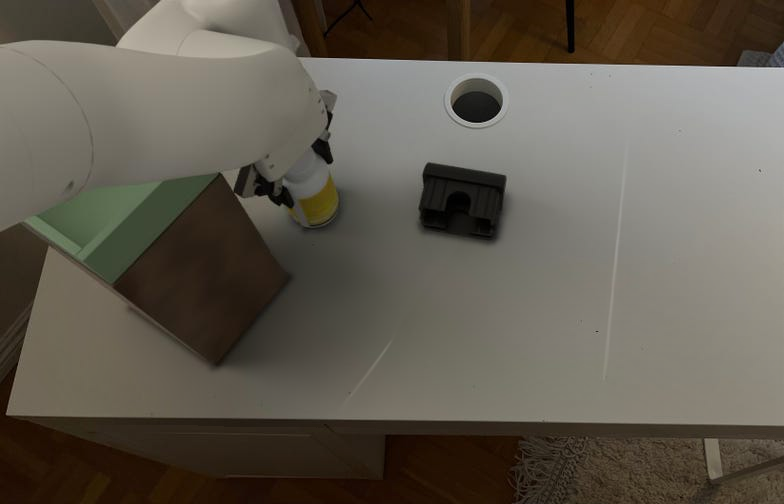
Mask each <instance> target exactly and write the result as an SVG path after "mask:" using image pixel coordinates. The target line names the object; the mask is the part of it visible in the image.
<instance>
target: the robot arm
mask: <svg viewBox="0 0 784 504" xmlns="http://www.w3.org/2000/svg"><path fill="white" fill-rule="evenodd" d="M301 45H302V44H301V41H300V40H299V38H298V37H297V36H295V35H294V34H289V31H288V27H287V25H286V22H285V19H284V16H283V12H282V10H281V7H280V3H279V1H278V0H159V2H157V3H156V4H155V5H154V6H153V7H152V8H150V10H149V11H148V12H146V13H145V14H144V15H143V16H141V18H140V19H138V20H137V21H136V22H135V23H134V24H133V25H132V26H131V27H130V28H129V29H128V30H127V31H126V32H125V33H124V34H123V35H122V36H121V38H120V39H119V41H118V42H117V44H116V46H114V45H113V46H112V45H107V44H98V43H90V42H89V43H88V42H79V41H64V40H51V39H47V40H46V39H45V40H44V39H32V40H31V39H30V40H22V41H17V42H10V43H9V42H8V43H1V44H0V232H3V231H5V230H7V229H9V228H11V227H13V226H15V225H19V224H20V222H22V221H24V220H26V219H29V218H31V217H33V216H35V215H37V214H39V213H42V212H44V211H46V210H48V209H50V208H52V207H55V206H57V205H59V204H61V203H64V202H66V201H69V200H71V199H73V198H75V197H77V196H79V195H81V194H83V193H86V192H88V191H91V190H93V189H96V188H101V187H112V186H125V185H136V184H145V183H152V182H159V181H165V180H171V179H177V178H184V177H191V176H199V175H205V174H212V173H218V172H220V173H223V172H228V171H233V170H238V169H239V171H238V174H237V177H236V181H235V184H234V187H233V189H232V190H233V192H234V193H235V195H236V196H238V197H240V198H241V199H249V198H253V197H254V196H255V197H256V196H257V197H258V198H260V197H264V196H267V197H268V199H269V201H271V202H272V203H273V204H275V205H276V206H278V207H281V206H282V205H284V207H286V206H287V207H288V208H290V209H292V208H293V207H294V204H295V203H294V201H293V199H292V197H291V195H290V193H289V191H288V189H287V188H286V187H285V186H283V185H282V181H283V175H284V174H285V173H286V172H287V171H288V170H289V169H290V168H291V167H292V166H293V165H294V164H295V162H296V161H297V160H298V159H299V158H300V157H301V156H302V155H303V154H304V153H305V152H306V150H307V149H308V148H309V147H310V146H311V147H312V149H313V151H314V152H315V153H317V154H319V155H320V156H321V157H322V158H323V159H324V160H325V162H326V163H327V166H328V165H332V164H333V162H334V161H335V160H334V157H333V154H332V151H331V146H330V142H329V140H330V139H331V136H332V133H331V132H330V131H329V128H330V126H331V123H332V120H333V117H334V114H333V112H332V111H334V109H335V106H336V103H337V99H338V95H337V94H336V93H334V92H333V91H331V90H329V89H320V90H319V89H318V87H317V85H316V83H315V81H314V80H313V78H312V77H311V75H310V74H309V72H308V71H307V70H306V69H305V67H304V66H303V65H304V64H303V63H302V62H301V60H300V59H299V58H298V56H297V51H298V49H299V47H300V46H301Z"/></svg>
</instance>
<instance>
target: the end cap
mask: <svg viewBox="0 0 784 504" xmlns="http://www.w3.org/2000/svg"><path fill="white" fill-rule="evenodd" d="M421 176H422V186H423V188H422V191H421V196H420V199H419V204H418V208H417V209H418V211H419V216H418V218H419V219H420V222H421V224H422V228H423V229H425V230H427V231H433V232H438V233H445V234H451V235H457V236H463V237H469V238H474V239H479V240H480V239H481V240H486V241H491V240H492V239H493V237H494V233H495V232H496V230H497V225H498V218H499V213H500V212H502V211H503V206H504V201H505V200H504V199H505V194H506V193H505V192H506V186H507V179H508V178H507V175H506V174H502V173H497V172H489V171H484V170H479V169H472V168H467V167H462V166H455V165H449V164H443V163H437V162H430V161H429V162H426V164H425V165H424V168H423V171H422V174H421Z"/></svg>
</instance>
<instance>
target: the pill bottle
mask: <svg viewBox="0 0 784 504" xmlns="http://www.w3.org/2000/svg"><path fill="white" fill-rule="evenodd" d="M282 185H283V186H285V187H286V188H287V189H288V191H289V193H290V195H291V197H292V199H293V201H294V203H295V204H294V207H293V208H292V209H290V208H288V207H287V206H285V208H286V210H287V212H288V214H289V216H290V217H291V219H292V220H293V221H294V222H295V223H296V224H298V225H300V226H302V227H304V228H312V229H313V228H319V227H323V226H325V225H327V224H329V223H331V221H332V220H334V219H335V217H337V214H338V212H339V210H340V197H339V195H338V191H337V189H336V186H335V182H334V180H333V177H332V175H331V172H330V169H329V166H328V164H327V163H326V162H325V160H324V159H323V158H322V157H321V156H320V155H319V154H317V153H315V152H314V151H313V149H312V147H311V146H310V147H309V148H308V149H307V150H306V152H305V153H304V154H303V155H302V156H301V157H300V158H299V159H298V160H297V161H296V162H295V164H294V165H293V166H292V167H291V168H290V169H289V170H288V171H287V172H286V173H285V174H284V175H283V181H282Z"/></svg>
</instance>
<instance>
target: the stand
mask: <svg viewBox="0 0 784 504" xmlns="http://www.w3.org/2000/svg"><path fill="white" fill-rule="evenodd" d="M233 190H234V189H232V187H231V185H230V184H229V182H228V180H227V179H226V177H225V176H224V174H223V172H218V175H217V176H216V177H215V179H214V180H213V181H212V182H211V183H210V184H209V185H208V186H207V187H206V188H205V189H204V190H203V191H202V192H201V193H200V194H199V195H198V196H197V197H196V198H195V199H194V200H193V201H192V202H191V203H190V204H189V205H188V206H187V208H186V209H185V210H184V211H183V212H182V213H181V214H180V215H179V216H178V217H177V218H176V219H175V220H174V221H173V222H172V223H171V224H170V225H169V226H168V227H167V228H166V229H165V230H164V231H163V232H162V233H161V234H160V235H159V237H158V238H157V239H156V240H155V241H154V242H153V243H152V244H151V245H150V246H149V247H148V248H147V249H146V250H145V251H144V252H143V253H142V254H141V255H140V256H139V257H138V258H137V259H136V260H135V261H134V262H133V263H132V264H131V266H130V267H129V268H128V269H127V270H126V271H125V272H124V273H123V274H122V275H121V276H120V277H119V278H118V279H117V280H116V281H115V282H114V283H113V284H111V283H109V282H108V281H106V280H105V279H103V278H102V277H101V276H99V275H98V274H96V273H95V272H94V271H92V270H91V269H89V268H88V267H86V266H85V265H84V264H82V263H81V262H79V261H78V260H76V259H75V258H74V257H72V256H71V255H69V254H68V253H67V252H65V251H64V250H62V249H61V248H59V247H58V246H57V245H55V244H54V243H52V242H51V241H50V240H48V239H47V238H45V237H44V236H42V235H41V234H40V233H38V232H37V231H35V230H34V229H32V228H31V227H30V226H28V225H27V224H25V223H24V222H23V221H22V222H20V223H19V224H20V225H21V226H22V227H24V228H25V229H26V230H28V231H29V232H30V233H31V234H33V235H34V236H35V237H37V238H38V239H39V240H40V241H42V242H44V243H45V244H46V245H47V246H49V247H50V248H51V249H53V250H55V252H57V253H58V254H60V255H61V256H62V257H64V258H65V259H66V260H68V261H69V262H70V263H71V264H73V265H74V266H75V267H77V268H78V269H80V271H82V272H83V273H85V274H86V275H87V276H89V277H90V278H91V279H93V280H94V281H96V282H97V283H98V284H99V285H101V286H102V287H103V288H105V289H106V290H108V291H109V292H110V293H111V294H113V296H115V297H116V298H118V299H119V300H121V301H122V302H123V303H125V304H126V305H127V306H129V307H130V308H131V309H133V310H134V311H136V312H137V313H138V314H140V315H141V316H143V317H144V318H146V319H147V320H148V321H150V322H151V323H153V324H154V325H155V326H156V327H158V328H160V329H161V330H162V331H163V332H165V333H166V334H168V335H169V336H170V337H172V338H174V339H175V340H176V341H178V342H179V343H181V344H182V345H184V346H185V347H186V348H188V349H189V350H191V351H192V352H193V353H195V354H196V355H198V356H199V357H200V358H202V359H203V360H205V361H206V362H207V363H209V364H210V365H212V367H215V366H216V365H217V364H218V362H220V360H221V359H222V357H223V356H224V355H225V354H226V352H227V351H229V349H231V347H232V346H233V345H234V344H235V342H236V341H237V340H238V339H239V337H240V336H241V335H242V334H243V333H244V332H245V330H246V329H247V328H248V326H250V324H251V323H252V322H253V321H254V319H255V318H256V317H257V316H258V314H259V313H260V312H261V311H263V309H264V308H265V306H266V305H267V304H268V303H269V301H270V300H271V299H272V298H273V297H274V296H275V294H276V293H277V292H278V291H279V290H280V289H281V287H282V286H283V285H284V284H285V282H286V281H288V279H289V278H288V276H287V275H286V273H285V272H284V270H283V268H282V266H281V265H280V264H279V262H278V260H277V258H276V257H275V256H274V254H273V252H272V251H271V249H270V248H269V246H268V244H267V243H266V240H264V237H262V235H261V233H260V232H259V230H258V229H257V227H256V225H255V224H254V222H253V220H252V218H251V217H250V216H249V214H248V212H247V211H246V209H245V207H244V206H243V205H242V203H241V201H240V200H239V198H238V196H237V194H235V193H234V192H233Z"/></svg>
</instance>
